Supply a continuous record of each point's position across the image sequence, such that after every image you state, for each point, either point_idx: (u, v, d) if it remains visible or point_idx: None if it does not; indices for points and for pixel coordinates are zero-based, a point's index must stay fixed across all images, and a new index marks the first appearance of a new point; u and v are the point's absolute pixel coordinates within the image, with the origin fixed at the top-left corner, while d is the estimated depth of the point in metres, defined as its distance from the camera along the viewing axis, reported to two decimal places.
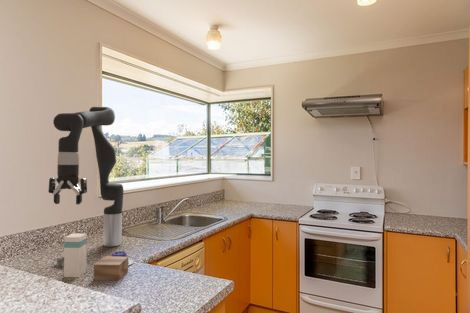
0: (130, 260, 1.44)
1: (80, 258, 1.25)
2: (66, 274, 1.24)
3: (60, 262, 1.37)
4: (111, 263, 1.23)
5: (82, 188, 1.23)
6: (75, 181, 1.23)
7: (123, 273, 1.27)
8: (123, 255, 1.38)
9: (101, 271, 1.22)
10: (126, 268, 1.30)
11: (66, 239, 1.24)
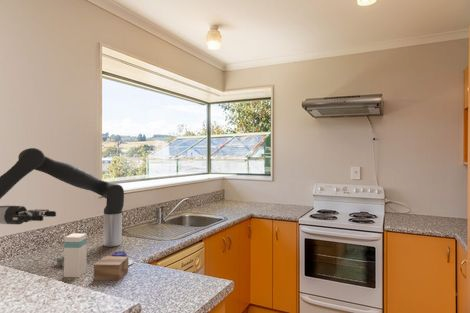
0: (130, 260, 1.44)
1: (80, 258, 1.25)
2: (66, 274, 1.24)
3: (60, 262, 1.37)
4: (111, 263, 1.23)
5: None
6: None
7: (123, 273, 1.27)
8: (123, 255, 1.38)
9: (101, 271, 1.22)
10: (126, 268, 1.30)
11: (66, 239, 1.24)
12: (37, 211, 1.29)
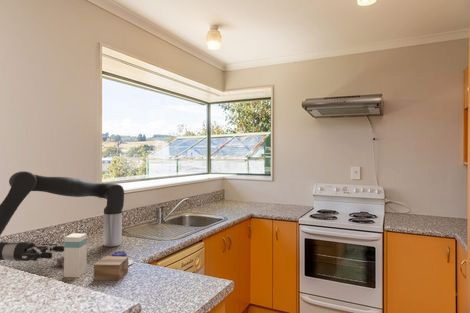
0: (129, 260, 1.44)
1: (80, 258, 1.25)
2: (66, 274, 1.24)
3: (60, 262, 1.37)
4: (111, 263, 1.23)
5: None
6: None
7: (123, 273, 1.27)
8: (124, 255, 1.39)
9: (101, 271, 1.22)
10: (126, 268, 1.30)
11: (66, 239, 1.24)
12: (46, 247, 1.30)
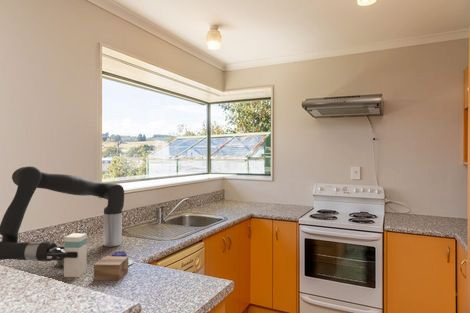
0: (128, 259, 1.44)
1: (80, 258, 1.25)
2: (66, 274, 1.24)
3: (60, 262, 1.37)
4: (111, 263, 1.23)
5: None
6: None
7: (123, 273, 1.27)
8: (124, 255, 1.39)
9: (101, 271, 1.22)
10: (126, 268, 1.30)
11: (66, 239, 1.24)
12: None
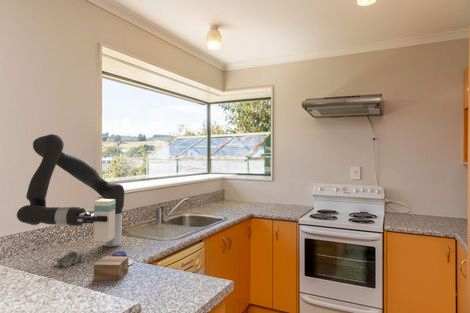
0: (128, 259, 1.45)
1: (110, 223, 1.25)
2: (96, 238, 1.24)
3: (61, 262, 1.37)
4: (111, 263, 1.23)
5: None
6: None
7: (123, 273, 1.27)
8: (124, 254, 1.39)
9: (101, 271, 1.22)
10: (126, 268, 1.30)
11: (96, 203, 1.23)
12: None
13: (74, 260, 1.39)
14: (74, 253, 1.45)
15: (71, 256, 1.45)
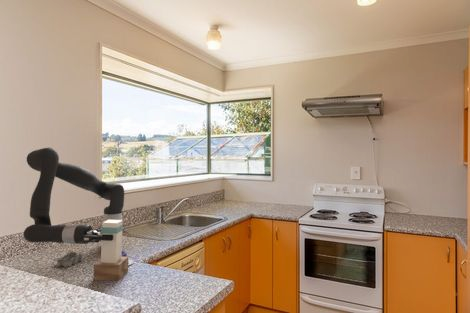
0: None
1: (117, 244, 1.25)
2: (103, 260, 1.24)
3: (61, 262, 1.37)
4: (111, 263, 1.23)
5: None
6: None
7: (123, 273, 1.27)
8: (125, 254, 1.39)
9: (101, 271, 1.22)
10: (126, 268, 1.30)
11: (104, 225, 1.24)
12: None
13: (74, 260, 1.39)
14: (73, 253, 1.46)
15: (70, 256, 1.45)
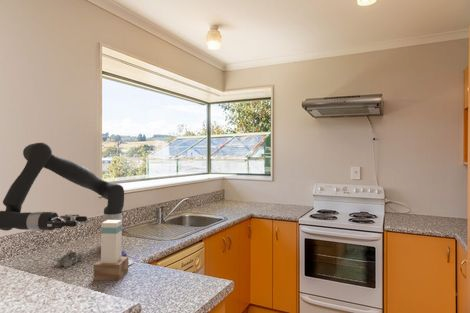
0: None
1: (117, 244, 1.25)
2: (103, 260, 1.24)
3: (61, 262, 1.36)
4: (111, 263, 1.23)
5: None
6: None
7: (123, 273, 1.27)
8: (125, 254, 1.40)
9: (101, 271, 1.22)
10: (126, 268, 1.30)
11: (103, 225, 1.24)
12: (69, 216, 1.31)
13: (74, 260, 1.39)
14: (73, 253, 1.46)
15: (70, 256, 1.45)
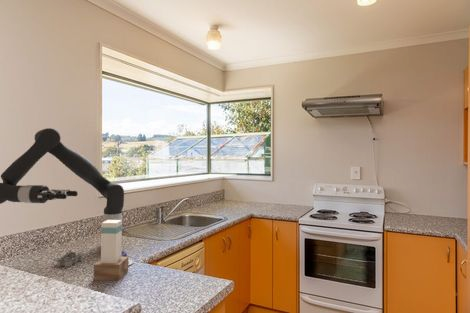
0: None
1: (117, 244, 1.25)
2: (103, 260, 1.24)
3: (61, 262, 1.36)
4: (111, 263, 1.23)
5: (47, 199, 1.24)
6: None
7: (123, 273, 1.27)
8: (125, 254, 1.40)
9: (101, 271, 1.22)
10: (126, 268, 1.30)
11: (103, 225, 1.24)
12: (59, 191, 1.33)
13: (75, 260, 1.40)
14: (72, 253, 1.45)
15: (69, 256, 1.45)
